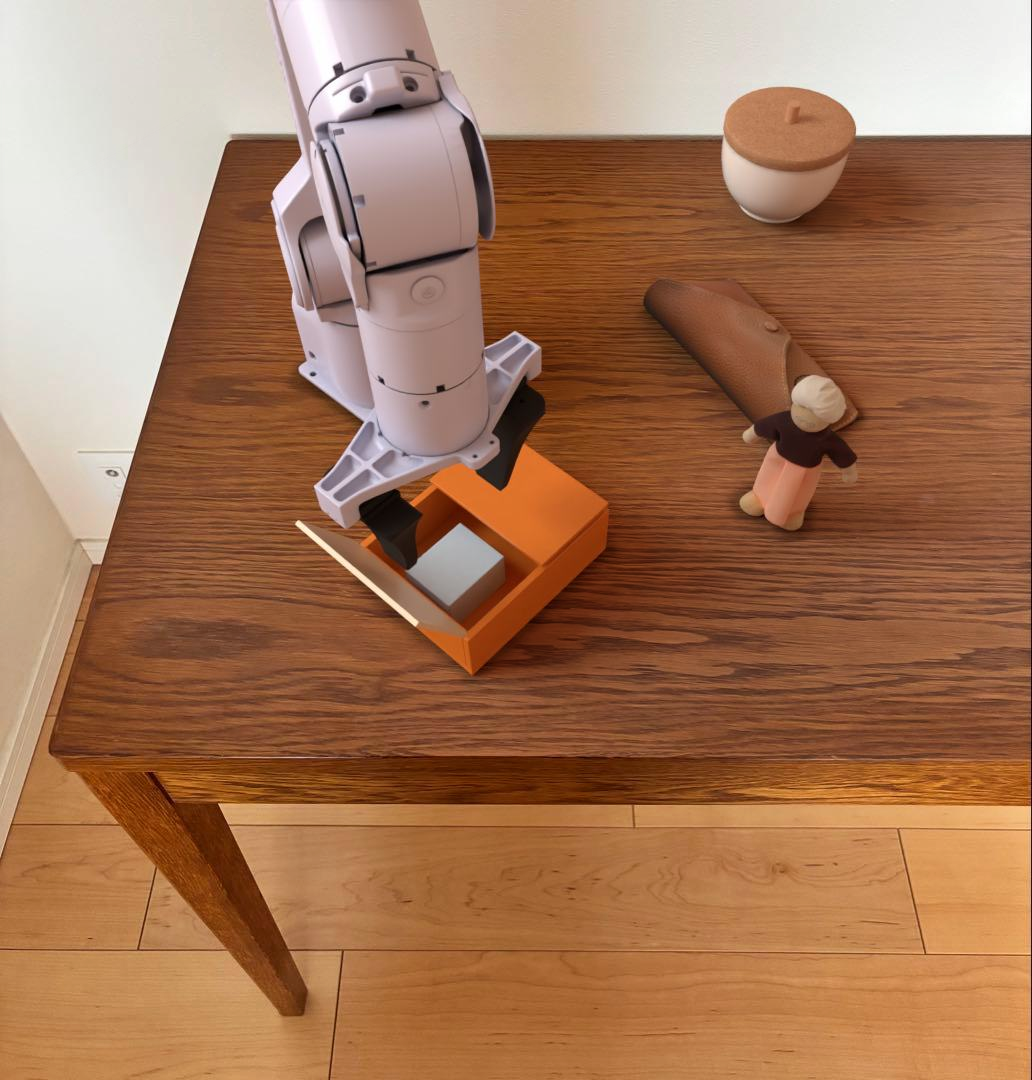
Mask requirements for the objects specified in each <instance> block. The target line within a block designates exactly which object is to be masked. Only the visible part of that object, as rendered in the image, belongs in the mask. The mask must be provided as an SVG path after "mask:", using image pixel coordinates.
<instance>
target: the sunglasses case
mask: <svg viewBox="0 0 1032 1080" xmlns="http://www.w3.org/2000/svg"><path fill="white" fill-rule="evenodd" d="M642 304H643V305H642V306H643V307H644V308H645V310H646V312H647V313H649V315H650V316H651V317H652V318H653V319H654V320H655V321H656V322H657V323H658V324H659V325H660V326H661V327H662V328H663V329H664V330H665V331H666V332H667V333H668V334H669V335H670V336H671V337H673V338H674V339H675V341H676V342H677V343H678V344H679V345H680V346H681V347H682V348H683V349H684V350H685V351H686V352H687V353H689V355H690V356H691V357H692V359H693V360H694V361H695V362H696V363H697V364H698V366H700V368H702V370H703V371H704V372H705V373H706V374H707V375H708V376H709V377H710V378H711V379H712V380H713V381H714V383H715V384H716V385H717V386H718V387H719V388H720V389H721V391H723V392H724V394H725V395H726V396H727V397H728V398H729V400H731V402H732V403H733V404H734V405H735V406H736V407H737V408H738V409H739V411H740V412H741V413H742V414H743V415H744V416H745V417H746V419H748V421H749V422H750V423H751V424H752V425H754V424H755V422H756V421H757V420H759V419H762V418H765V417H767V416H770V415H773V414H776V413H779V412H782V411H787V410H791V407H792V404H793V401H792V397H791V395H792V391H793V389H794V387H795V386H796V385H797V384H798V383H799V382H800V381H801V380H803V379H804V378H806V377H808V376H811V375H817V376H820V377H824V378H829V379H831V380H832V381H833V382H834V384H835V385H836V386H837V387H838V388H839V389H840V390H841V392H842V394H843V396H844V399H845V404H846V407H847V409H845V411H844V414H843V416H842V417H841V418H840V419H839V420H838V421H837V422H835V423H830V424H829V425H828V426H829V427H830V428H831V430H832V431H833V432H834V433H837V432H839V431H840V430H843V429H844V428H846V427H848V426H850V425H852V424H853V423H854V422H856V420H857V419H858V418H859V414H860V413H859V411H858V409H857V408H856V406H855V405H854V402H853V401H851V399H850V398H849V396H848V395H847V394H846V393H845V392H844V391H843V389H841V388H840V386H838V384H837V383H836V381H834V379H833V378H832V377H831V376H830V375H829V374H828V373H827V372H826V371H825V370H824V369H823V368H822V366H820V365H819V364H818V362H817V361H815V360H814V359H813V357H812V356H810V355H809V354H808V352H806V350H805V349H804V348H803V347H801V346H800V344H799V343H797V341H796V340H795V339H794V338H793V337H792V335H791V333H790V332H789V330H788V329H787V328H786V327H785V326H784V325H783V324H782V323H781V322H780V321H779V320H778V319H777V318H775V317H774V316H773V315H771V314H770V313H768V312H767V311H766V310H765V309H764V308H763V306H761V305H760V304H759V303H758V301H756V299H755V298H753V296H751V295H750V293H748V291H746V290H745V289H744V288H743V287H742V285H740V284H739V283H738V282H736V281H735V280H733V279H732V278H729V277H724V278H721V279H719V280H690V281H689V280H685V281H684V280H683V281H681V280H677V279H674V278H671V277H661V278H658V279H656V280H655V281H653V282H652V283H651V284H650V286H649V287H648V288H647V289H646V291H645V293H644V295H643V299H642ZM765 440H766V441H767V442H768V443H769V444H770V446H771V445H772V444H773V443H774V442H775V440H772V439H768V438H765Z"/></svg>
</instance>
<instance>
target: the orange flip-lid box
mask: <svg viewBox="0 0 1032 1080" xmlns="http://www.w3.org/2000/svg"><path fill="white" fill-rule="evenodd" d="M429 483H430V484H431V485H430V486H428V487H427V488H426V489H425V490H423V491H422V492H421V493H420V494H419V495H417V496H416V497H415V498H414V499H413V500H411V501H410V502H408V503H409V504H411V505H412V506H413V507H414V508H416V509H417V510H418V511H419V512H421V513H422V514H423V516H422V517H421V519H420V520H419V523H418V525H417V529H416V537H415V540H416V547H417V553H418V559H419V558H420V557H421V556H422V555H423V554H424V553H426V552H427V551H428V550H429V549H430V548H431V547H433V546H434V545H435V544H436V543H437V542H438V541H440V540H441V539H442V538H443V537H444V536H445V535H447V534H448V533H449V532H450V531H451V530H452V529H454V528H455V527H456V526H457V525H458V524H459V523H461V524H463V525H464V526H465V527H466V528H468V529H469V530H470V531H472V532H473V533H474V534H476V535H477V536H478V537H479V538H481V539H482V540H483V541H485V542H486V543H487V544H489V545H490V546H491V547H492V548H494V549H495V550H496V551H498V552H499V553H500V554H502V555H503V556H504V560H505V577H506V581H505V582H504V583H503V584H502V585H501V586H500V587H499V588H498V589H497V590H496V591H495V592H493V593H492V594H491V595H490V596H489V597H488V598H487V599H486V600H485V601H484V602H483V603H481V604H480V605H479V606H478V607H477V608H476V609H475V610H474V611H473V612H472V613H471V614H469V615H468V616H467V617H466V618H465V619H464V620H463V621H462V622H461V623H460V624H458V623H457V622H456V621H455V620H454V619H452V618H451V617H450V616H449V615H448V614H446V613H445V612H444V611H443V610H442V609H440V608H439V607H438V606H437V605H436V604H434V603H433V602H432V601H431V600H429V599H428V598H427V597H426V596H425V595H423V594H422V593H421V592H420V591H419V590H417V589H416V588H415V587H414V586H413V585H411V584H410V583H409V582H408V581H407V576H406V572H405V569H404V568H403V567H402V566H400V565H399V564H398V563H397V562H396V561H394V560H393V559H392V558H391V557H389V556H388V555H387V554H386V553H385V552H384V550H383V548H382V546H381V544H380V543H379V541H378V540H377V538H376V537H375V535H374V534H373V533H372V532H371V534H370V535H369V536H367V537H366V538H365V539H364V540H362V541H361V542H360V543H359V544H360V545H362V546H363V547H364V548H365V549H366V550H368V551H369V552H370V553H371V554H372V555H374V556H375V557H376V558H377V559H378V560H380V561H381V562H382V563H383V564H384V565H386V566H387V567H388V568H389V569H390V570H392V571H393V572H394V573H395V574H397V575H398V576H399V577H400V578H401V579H403V580H404V581H405V582H406V583H407V584H409V585H410V586H411V587H412V588H413V589H415V590H416V591H417V592H418V593H419V594H421V595H422V596H423V597H424V598H425V599H427V600H428V601H429V602H430V603H432V604H433V605H434V606H435V607H436V608H438V609H439V610H440V611H441V612H442V613H444V614H445V615H446V616H447V617H448V618H450V619H451V620H452V621H453V622H454V623H456V624H457V625H458V626H459V627H460V628H462V629H463V630H464V631H465V632H466V633H467V635H466V637H465V638H462V637H457V636H453V635H449V634H444V633H440V632H436V631H431V630H427V629H422V628H418V627H415V628H416V629H417V630H418V631H420V632H421V633H422V634H423V635H424V636H425V637H426V638H428V639H429V640H430V641H431V642H432V643H434V644H435V645H436V646H437V647H438V648H440V649H441V650H442V651H443V652H444V653H445V654H446V655H447V656H449V657H450V658H451V659H452V660H454V661H455V662H456V663H457V664H458V665H460V667H462V668H463V669H464V670H465V671H466V672H468V673H469V674H470V675H471V676H474V675H475V674H476V673H477V672H478V671H479V670H480V669H481V668H482V667H484V665H485V664H486V663H487V662H488V661H490V659H492V658H493V657H494V656H495V655H496V654H497V653H498V652H499V651H500V650H501V649H502V648H503V647H505V645H506V644H507V643H508V642H510V640H512V638H514V637H515V636H516V635H517V634H518V633H519V632H520V631H521V630H522V629H524V627H525V626H527V625H528V624H529V622H530V621H531V620H533V619H534V618H535V617H536V616H537V615H538V614H539V613H540V612H541V611H542V610H543V609H544V608H545V607H546V606H547V605H548V604H549V603H550V602H551V601H552V600H554V599H555V597H557V595H559V594H560V593H561V592H562V591H563V590H564V589H565V588H567V586H568V585H569V584H570V583H571V582H572V581H573V580H575V579H576V577H578V575H580V574H581V573H582V572H583V571H584V570H585V569H586V568H587V567H588V566H589V565H590V564H591V563H592V562H594V561H595V559H596V558H597V557H598V556H599V555H601V553H603V552H604V551H605V550H606V549H607V539H608V529H609V528H608V527H609V517H610V509H609V508H608V507H609V505H610V502H608V501H607V500H606V499H605V498H603V497H601V496H600V495H599V494H597V493H595V492H594V491H593V490H591V489H590V488H588V487H586V486H585V484H583V483H581V482H580V481H578V480H577V479H575V478H574V477H572V476H571V475H570V474H568V473H567V472H565V471H564V470H562V469H561V468H560V467H558V466H557V465H556V464H554V463H553V462H551V461H550V460H549V459H547V458H545V457H544V456H542V455H541V454H540V453H538V452H537V451H535V450H534V449H532V448H531V447H529V446H528V445H527V444H525V443H524V444H523V446H522V448H521V450H520V453H519V455H518V458H517V461H516V463H515V466H514V469H513V472H512V475H511V478H510V481H509V483H508V485H507V486H506V487H505V488H504V489H503V490H502V491H499V490H498V489H496V488H495V487H494V486H492V485H491V484H490V483H488V482H487V481H485V480H484V479H483V478H481V477H480V476H479V475H477V474H476V471H475V470H472V469H470V468H468V467H466V466H465V465H463V464H461V463H457V464H454V465H452V466H450V467H447V468H445V469H442V470H440V471H437V472H436V473H435V474H434V475H433V476H431V477H430V478H429Z"/></svg>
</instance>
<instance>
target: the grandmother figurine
mask: <svg viewBox="0 0 1032 1080" xmlns="http://www.w3.org/2000/svg"><path fill="white" fill-rule="evenodd" d="M831 379H832V378H831ZM831 379H829V378H824V377H820V376H817V375H811V376H808V377H806V378H804V379H803V380H801V381H800V382H799V383H798V384H797V385H796V386H795V387H794V389H793V391H792V395H791V397H792V401H793V404H792V407H791V410H787V411H782V412H779V413H776V414H773V415H770V416H767V417H765V418H762V419H759V420H757V421H756V422H755V424H754V425H753V424H752V425H751V426H750V427H749V428H747V429H746V430H745V431H744V432H743V434H742V440H743V442H744V443H745V444H748V445H753V444H755V443H757V442H758V440H761V439H762V438H764V439H766V438H768V439H772V440H775V442H774V443H773V444H772V445H771V444H770V447H769V448H768V450H767V452H766V454H765V457H764V458H763V461H762V464H761V466H760V469H759V471H758V472H757V475H756V478H755V481H754V484H753V487H752V490H750V491H747V493H744V495H743V496H741V498H740V499H739V507H740V508H741V510H742V511H743V512H744V513H746V514H747V515H749V516H752V517H760V516H762V515H764V516H765V519H766V520H767V521H769V522H770V524H773V525H775V526H778V527H780V528H781V529H784V530H786V531H796V530H798V529H800V528H801V527H802V526H803V523H804V518H805V513H806V510H807V508H808V506H809V504H810V502H811V500H812V498H813V496H814V494H815V492H816V489H817V487H818V484H819V481H820V478H821V475H822V471H823V466H824V456H825V455H826V456H827V457H828V458H829V460H830V462H832V463H833V464H834V465H835V466H836V467H837V468H838V469H839V472H840V475H841V477H840V478H841V480H842V482H843V483H845V484H846V485H852V484H855V483H856V482H857V481H858V480H859V473H858V471H857V464H856V463H857V461H858V455H857V453H856V452H854V450H853V449H852V448H851V446H850V445H849V443H847V441H846V440H845V439H844V438H843V437H842V436H841V435H839V434H837V432H835V433H834V432H833V431H832V430H831V428H830V427H829V426H828V425H829V424H830V423H835V422H837V421H838V420H839V419H840V418H841V417H842V416H843V414H844V411H845V409H847V407H846V404H845V399H844V396H843V394H842V392H841V390H842V389H841V388H840V387H839V388H840V389H841V390H840V389H839V388H838V387H837V386H836V385H835V384H834V382H835V381H834V380H833V379H832V380H833V381H834V382H833V381H832V380H831Z"/></svg>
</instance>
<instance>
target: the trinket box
mask: <svg viewBox="0 0 1032 1080" xmlns="http://www.w3.org/2000/svg"><path fill="white" fill-rule="evenodd" d="M722 131H723V134H722V135H723V136H722V141H721V142H722V143H721V152H720V155H721V156H720V157H721V158H720V160H721V171H722V178H723V180H724V184H725V187H726V189H727V190H728V192H729V194H730V196H731V197H732V198H733V200H734V201H735V202H736V203H737V205H738V206H739V207H740V209H741V211H743V212H744V214H746V215H747V216H749V217H750V218H752V219H754V220H757V221H759V222H762V223H769V224H784V223H785V224H786V223H791V222H792V221H796V220H797V219H799V218H800V217H801V216H803V215H805V214H807V213H808V212H810V211H812V210H814V209H815V208H817V207H818V206H819V205H821V204H822V203H823V202H824V201H825V200H826V199H827V198H828V197H829V195H830V194H831V193H832V191H833V189H834V188H835V187H836V185H837V183H838V181H840V178H841V176H842V174H843V172H844V169H845V166H846V164H847V160H848V157H849V155H850V151H851V150H852V148H853V146H854V145H853V144H854V142H855V138H856V135H857V125H856V121H855V120H854V117H853V115H852V114H851V112H850V111H849V110H848V109H847V108H846V107H845V106H844V105H843V104H842V103H841V102H839V101H837V100H836V99H834V98H833V97H830V96H828V95H827V94H824V93H821V92H818V91H816V90H811V89H808V88H803V87H795V86H770V87H769V86H768V87H764V88H759V89H756V90H752V91H750V92H748V93H745V94H743V95H741V96H740V97H738V98H736V99H735V101H734V102H733V103H732V104H730V106H728V108H727V110H726V112H725V115H724V120H723V129H722Z"/></svg>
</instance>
